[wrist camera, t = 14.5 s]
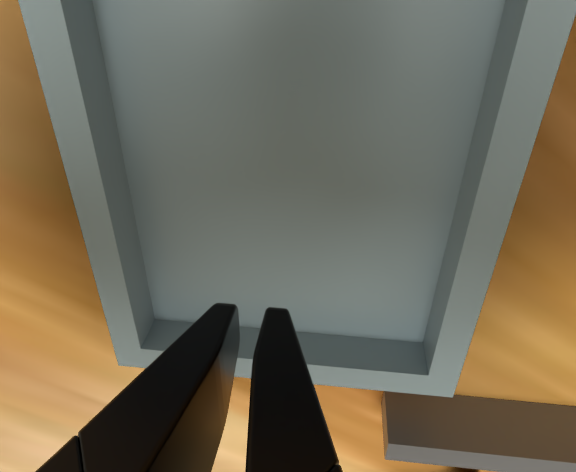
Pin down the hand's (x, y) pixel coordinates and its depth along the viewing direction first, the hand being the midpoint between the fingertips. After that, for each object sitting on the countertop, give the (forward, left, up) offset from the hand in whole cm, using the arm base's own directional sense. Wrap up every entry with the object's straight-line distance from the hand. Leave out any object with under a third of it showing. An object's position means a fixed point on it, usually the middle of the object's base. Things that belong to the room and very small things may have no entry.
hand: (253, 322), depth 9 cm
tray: (0, 0, -7) cm, 7 cm away
